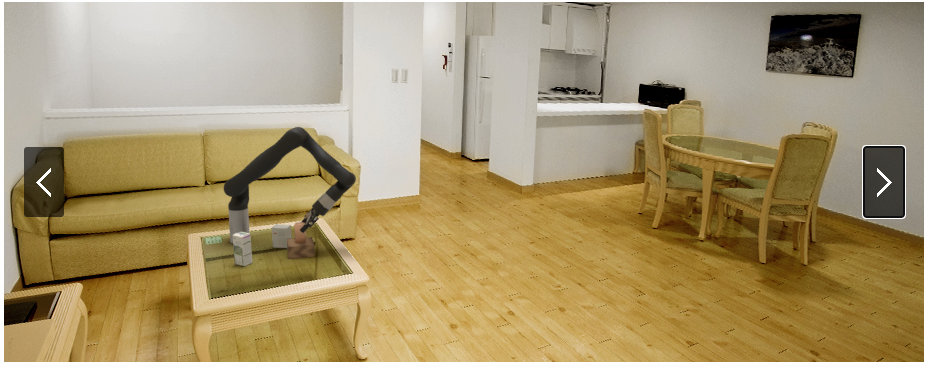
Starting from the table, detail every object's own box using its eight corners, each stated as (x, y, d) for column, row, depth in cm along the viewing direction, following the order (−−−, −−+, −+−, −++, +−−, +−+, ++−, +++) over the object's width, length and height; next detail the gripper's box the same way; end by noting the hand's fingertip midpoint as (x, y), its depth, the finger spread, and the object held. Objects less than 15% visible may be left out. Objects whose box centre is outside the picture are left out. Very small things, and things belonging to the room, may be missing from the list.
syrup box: (252, 262, 283) (251, 232, 280) (243, 266, 278) (241, 236, 274) (243, 260, 285) (241, 230, 282) (234, 264, 280) (231, 234, 277)
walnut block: (288, 258, 289) (288, 246, 287) (287, 250, 300) (286, 238, 298) (314, 256, 293) (314, 244, 291) (312, 248, 304) (312, 236, 302)
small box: (292, 244, 308) (291, 224, 305) (288, 248, 303) (287, 228, 300) (276, 243, 309) (275, 223, 306) (272, 247, 303) (271, 227, 301)
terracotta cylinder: (295, 243, 292) (294, 225, 290) (294, 240, 296) (294, 222, 294) (306, 242, 293) (305, 224, 291) (305, 239, 298) (304, 221, 296)
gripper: (317, 195, 299) (293, 219, 298) (319, 203, 286) (295, 228, 285) (328, 205, 302) (305, 229, 301) (331, 213, 289) (307, 238, 288)
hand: (300, 228), depth 293 cm, fingers open, 8 cm apart
